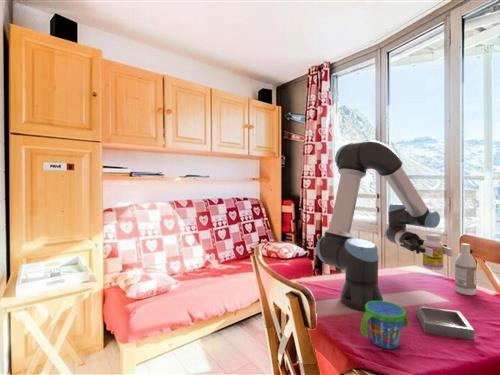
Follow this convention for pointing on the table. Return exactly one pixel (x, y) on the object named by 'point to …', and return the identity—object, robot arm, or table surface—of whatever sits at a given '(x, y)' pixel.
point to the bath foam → (465, 272)
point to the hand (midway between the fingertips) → (441, 253)
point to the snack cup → (384, 323)
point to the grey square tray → (444, 322)
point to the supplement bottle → (437, 247)
